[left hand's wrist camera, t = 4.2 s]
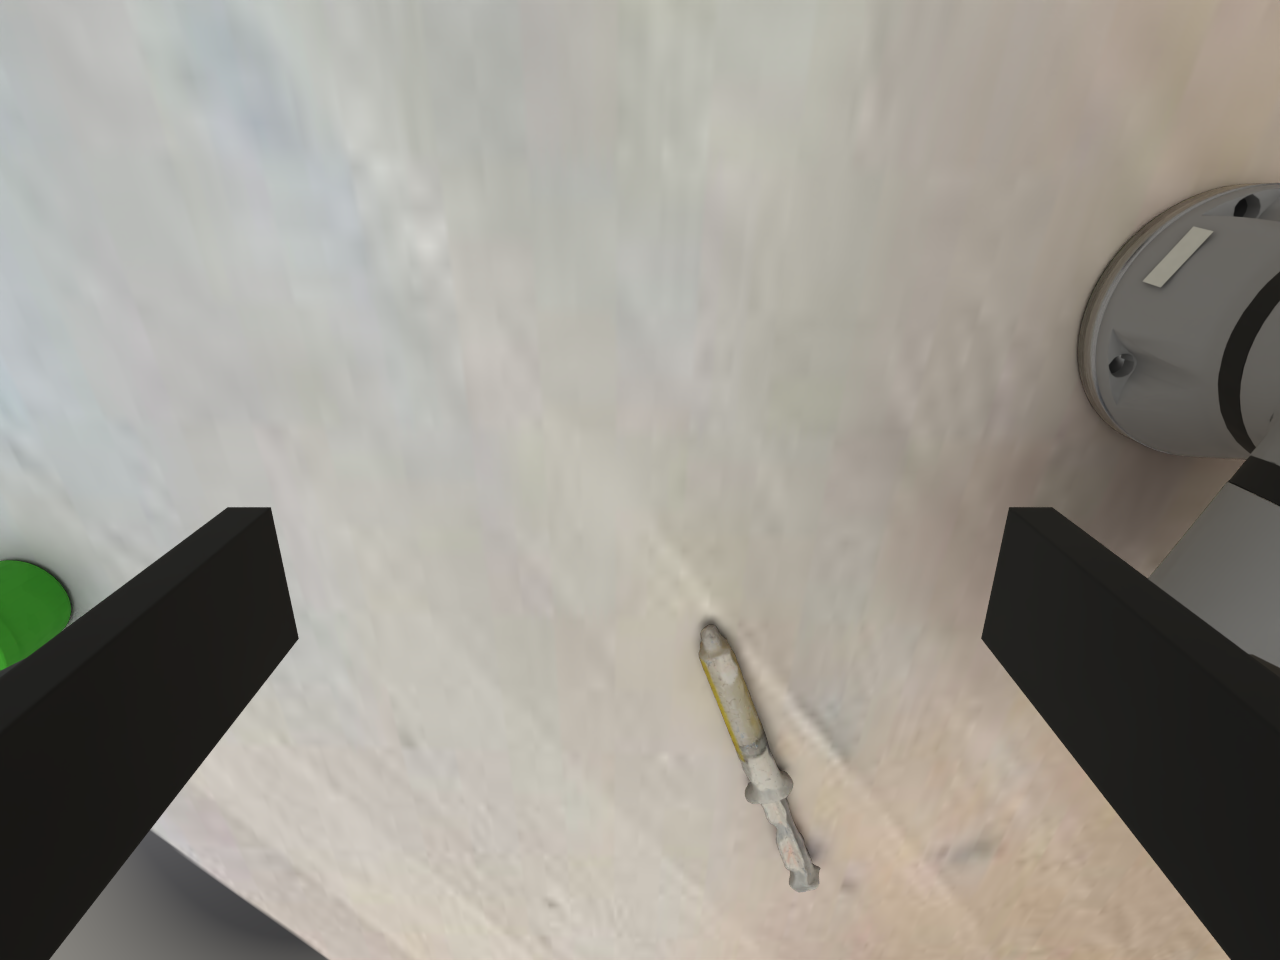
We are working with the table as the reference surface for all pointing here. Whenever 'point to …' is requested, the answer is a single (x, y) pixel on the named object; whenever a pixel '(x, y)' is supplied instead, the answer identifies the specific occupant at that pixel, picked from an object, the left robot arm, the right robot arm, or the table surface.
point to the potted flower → (29, 610)
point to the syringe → (756, 756)
